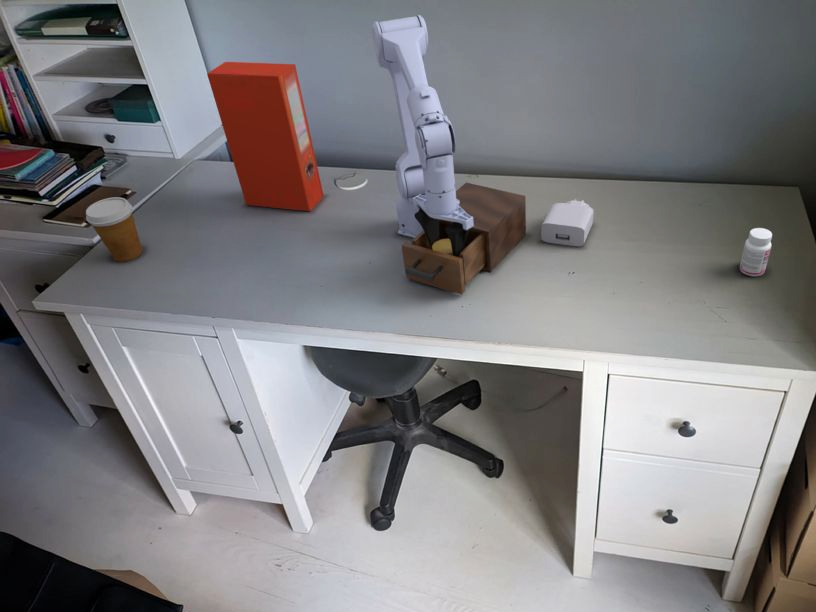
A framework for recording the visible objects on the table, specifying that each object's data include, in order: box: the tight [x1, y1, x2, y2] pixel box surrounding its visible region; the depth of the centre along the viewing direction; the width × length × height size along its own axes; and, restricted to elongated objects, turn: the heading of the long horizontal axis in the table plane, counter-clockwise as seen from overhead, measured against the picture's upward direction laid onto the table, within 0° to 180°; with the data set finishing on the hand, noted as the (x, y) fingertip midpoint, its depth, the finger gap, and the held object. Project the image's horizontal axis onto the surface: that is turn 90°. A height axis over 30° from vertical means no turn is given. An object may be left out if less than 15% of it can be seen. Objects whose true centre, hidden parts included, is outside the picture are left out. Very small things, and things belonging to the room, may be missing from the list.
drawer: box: [401, 222, 487, 295], centre depth 141 cm, size 19×13×8 cm
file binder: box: [206, 61, 324, 212], centre depth 163 cm, size 8×17×32 cm, turn 73°
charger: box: [540, 198, 595, 247], centre depth 154 cm, size 5×9×15 cm
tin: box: [432, 239, 460, 258], centre depth 141 cm, size 6×6×5 cm
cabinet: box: [439, 182, 527, 273], centre depth 149 cm, size 16×15×10 cm
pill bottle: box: [739, 227, 773, 277], centre depth 136 cm, size 5×5×8 cm
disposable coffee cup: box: [85, 196, 143, 263], centre depth 155 cm, size 10×10×12 cm
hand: (446, 248), depth 140 cm, fingers open, 6 cm apart
